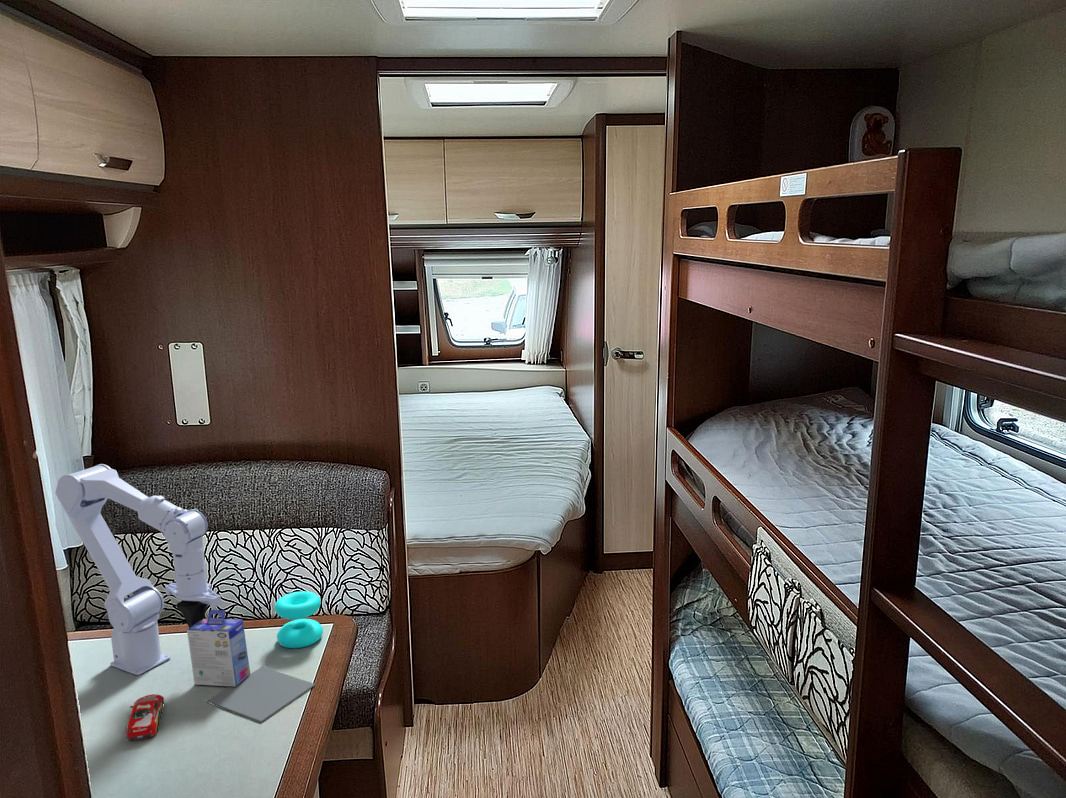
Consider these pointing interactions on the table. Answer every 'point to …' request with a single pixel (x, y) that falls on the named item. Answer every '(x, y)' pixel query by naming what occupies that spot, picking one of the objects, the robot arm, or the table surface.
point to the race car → (145, 717)
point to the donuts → (301, 629)
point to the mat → (261, 694)
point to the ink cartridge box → (218, 651)
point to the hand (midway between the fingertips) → (196, 632)
